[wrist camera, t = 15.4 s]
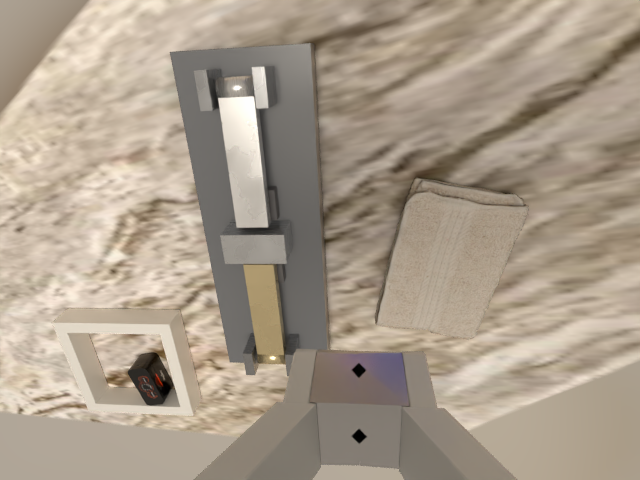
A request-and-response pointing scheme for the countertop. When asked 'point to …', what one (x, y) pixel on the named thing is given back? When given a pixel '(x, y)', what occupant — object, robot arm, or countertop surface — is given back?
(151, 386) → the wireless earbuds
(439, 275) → the washcloth
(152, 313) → the white square frame
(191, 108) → the lug board
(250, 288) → the brass strap
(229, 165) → the steel strap
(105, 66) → the countertop surface
